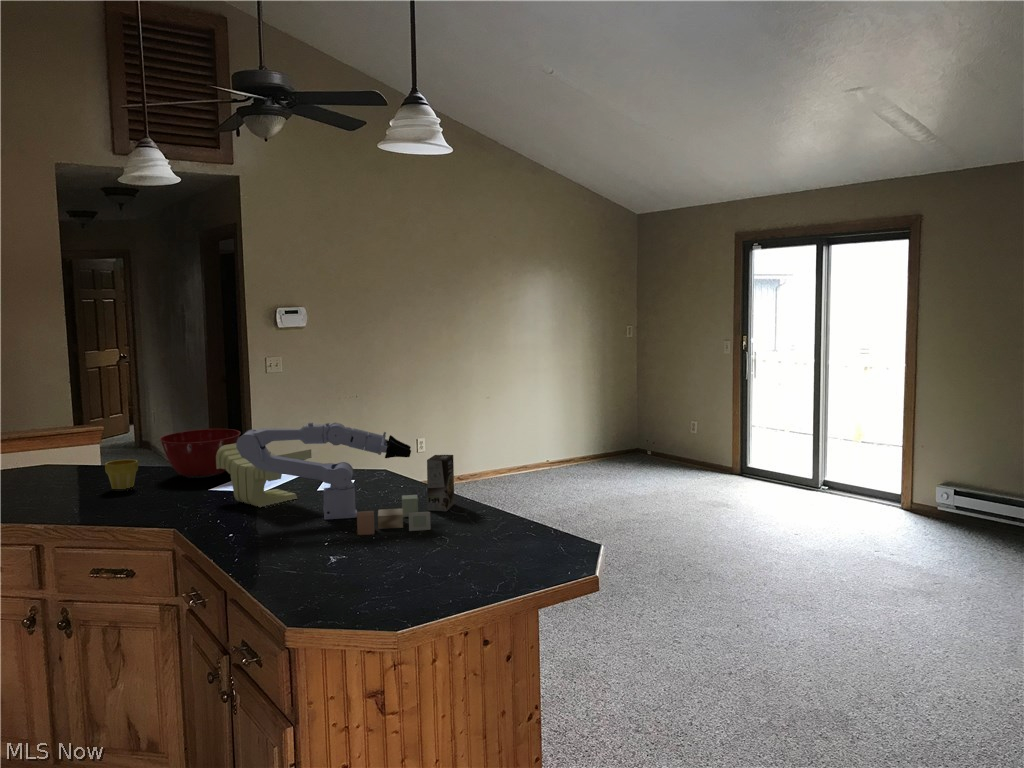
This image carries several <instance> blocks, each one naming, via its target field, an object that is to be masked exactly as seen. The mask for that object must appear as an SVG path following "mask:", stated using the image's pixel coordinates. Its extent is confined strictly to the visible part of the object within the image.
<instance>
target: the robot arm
mask: <svg viewBox="0 0 1024 768" xmlns="http://www.w3.org/2000/svg"><path fill="white" fill-rule="evenodd" d="M386 435H387V432H386V431H383V433H382V434H379V433H374V432H369V431H366V430H362V429H357V428H352V427H350V426H345V425H344V424H342V423H338V422H333V423H331V424H330V422H326V423H325V424H314V422H308V423H307V424H304V425H302V427H301V428H276V427H275V428H272V427H270V428H269V427H268V428H265V427H264V428H258V429H248V430H246V431H245V432H244V433H243V434H242V435H241V436H239V438H238V440H237V443H236V447H237V450H238V452H239V453H240V455H241V457H242V458H244V459H246V460H248V461H249V462H250V463H251V464H253V465H254V466H255V467H256V468H258V469H259V470H262V471H268V472H274V473H280V474H282V475H287V476H292V477H294V476H295V477H301V478H307V479H312V480H313V479H314V480H319V481H321V482H323V483H325V484H329V485H330V486H328V487H324V488H323V507H322V508H323V509H322V511H323V514H324V515H323V516H324V517H323V519H324V520H334V519H335V520H340V519H355V518H356V519H357V512H358V509H356V493H355V492H356V491H355V490H356V489H355V483H354V482H353V481H352V480H353V479H352V478H353V476H354V468H353V467H352V464H350V463H349V462H347V461H342V462H336V463H334V462H327V463H323V462H317V461H316V462H315V461H309V460H299V459H293V458H286V457H280V456H278V455H277V456H274V455H271V454H270V453H269V451H270V450H269V449H268V448H267V445H269V444H270V443H271V442H281V441H300V442H302V443H303V444H305V445H307V444H308V445H311V444H313V445H315V444H316V445H319V444H320V445H321V444H323V445H325V444H327V443H330V444H331V445H332V446H341V445H342V446H343V445H344V446H347V447H349V448H353V449H358V450H361V451H365V452H370V453H372V454H373V453H374V454H378V455H379V456H381V455H382V453H383V454H384V455H385V456H384V459H390V458H410V457H411V454H412V450H411V446H410V445H408V444H406V443H405V442H403V441H400V440H398V439H396V438H395V437H394V436H393V435H392V434H391V435H390V434H389V436H388V439H386ZM268 450H269V451H268Z"/></svg>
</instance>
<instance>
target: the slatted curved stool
mask: <svg viewBox="0 0 1024 768" xmlns="http://www.w3.org/2000/svg"><path fill="white" fill-rule="evenodd" d="M268 451H269V453H270V454H271V455H274V456H280V457H286V458H293V459H299V460H305V461H307V460H308V459H312V449H305V450H300V451H293V452H289V453H284V454H279V455H276V454H275V453H273V452H272V451H270V450H269V449H268ZM216 468H217V469H220V468H221V469H226V471H225V472H227V474H229V475H230V481H231V484H232V491H233V496H234V497H233V498H234V499H235V500H236V501H237V502H239V501H240V503H243V502H244V503H243V504H247V505H250V504H251V506H254V507H257V506H258V507H257V508H261V507H262V506H266V505H270V504H274V503H279V502H283V501H287V500H292V499H298V497H297V494H296V493H294V492H290V491H286V490H283V489H279V488H274V489H269V490H268V489H267V490H265V485H266V482H267V481H268V482H273V481H278V480H282V476H283V474H280V473H274V472H268V471H262V470H259V469H258V468H256V467H255V466H254V465H253V464H251V463H250V462H249V461H248V460H246V459H244V458H242V457H241V455H240V453H239V452H238V450H237V447H236V443H235V444H228V445H224V446H222V447H220V448H219V450H218V451H217V454H216Z"/></svg>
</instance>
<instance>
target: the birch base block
mask: <svg viewBox="0 0 1024 768" xmlns="http://www.w3.org/2000/svg"><path fill="white" fill-rule="evenodd" d="M377 523H378V524H377V525H378V526H377V529H378V530H384V529H400V528H401V529H402V528H404V517H403V508H402V507H401V508H386V509H385V508H384V509H382V508H381V509H378V511H377Z"/></svg>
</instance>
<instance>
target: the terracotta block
mask: <svg viewBox="0 0 1024 768" xmlns="http://www.w3.org/2000/svg"><path fill="white" fill-rule="evenodd" d="M374 513H375V510H365V511H364V510H363V511H357V517H356V525H357V526H356V527H357V528H356V529H357V531H356V532H357V535H358V536H365V535H366V536H367V535H375V514H374Z"/></svg>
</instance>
